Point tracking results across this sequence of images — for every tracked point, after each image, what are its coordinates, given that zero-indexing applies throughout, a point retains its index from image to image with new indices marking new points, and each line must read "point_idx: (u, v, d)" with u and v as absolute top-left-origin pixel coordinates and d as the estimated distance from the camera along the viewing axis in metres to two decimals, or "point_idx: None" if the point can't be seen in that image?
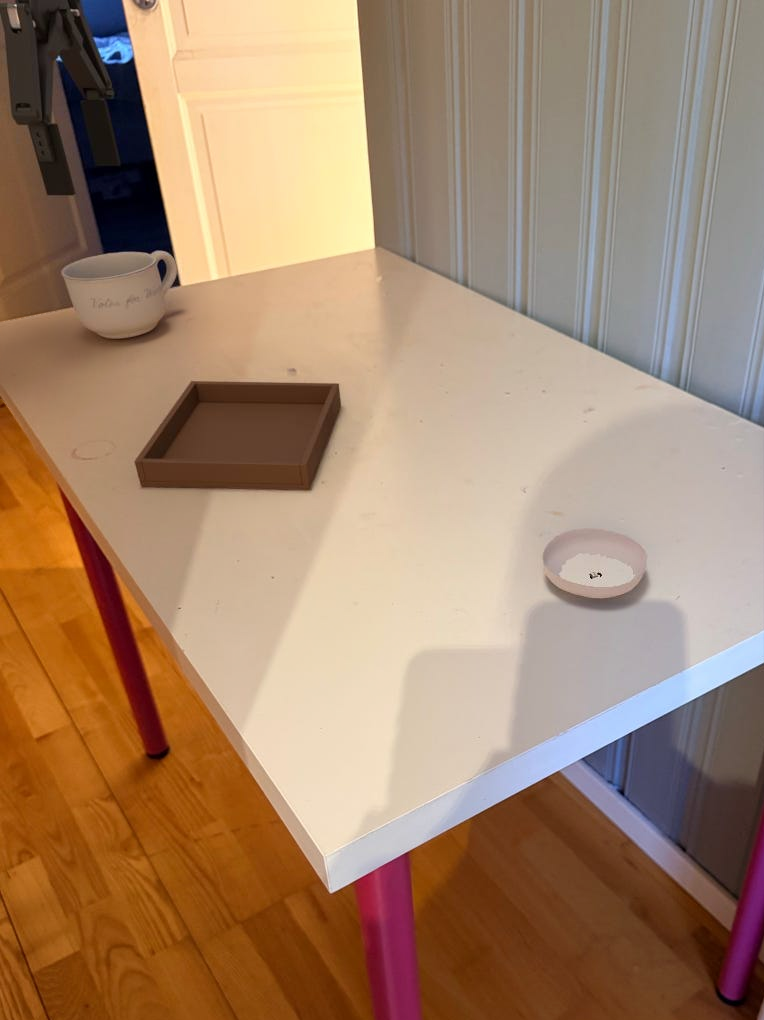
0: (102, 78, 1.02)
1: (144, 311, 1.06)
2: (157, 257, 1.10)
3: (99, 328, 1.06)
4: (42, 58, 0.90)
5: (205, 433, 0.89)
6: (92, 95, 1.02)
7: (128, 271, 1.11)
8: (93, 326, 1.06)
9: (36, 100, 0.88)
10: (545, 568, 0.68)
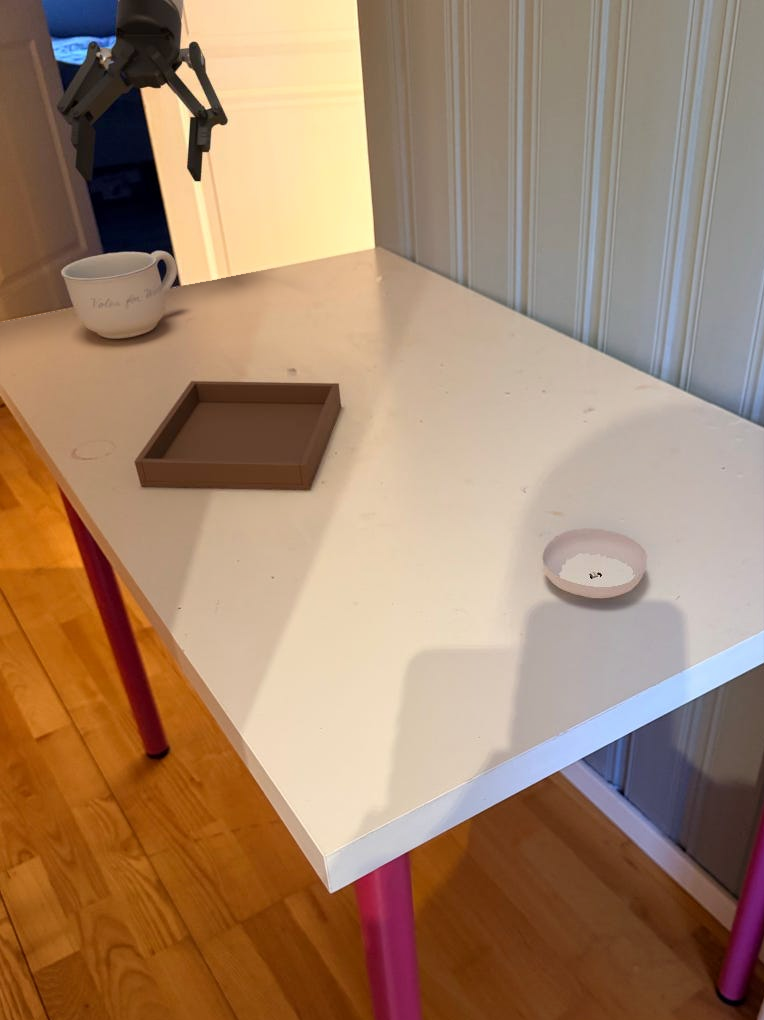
0: None
1: (144, 311, 1.06)
2: (157, 257, 1.10)
3: (99, 328, 1.06)
4: None
5: (205, 433, 0.89)
6: None
7: (128, 271, 1.11)
8: (93, 326, 1.06)
9: None
10: (545, 568, 0.68)
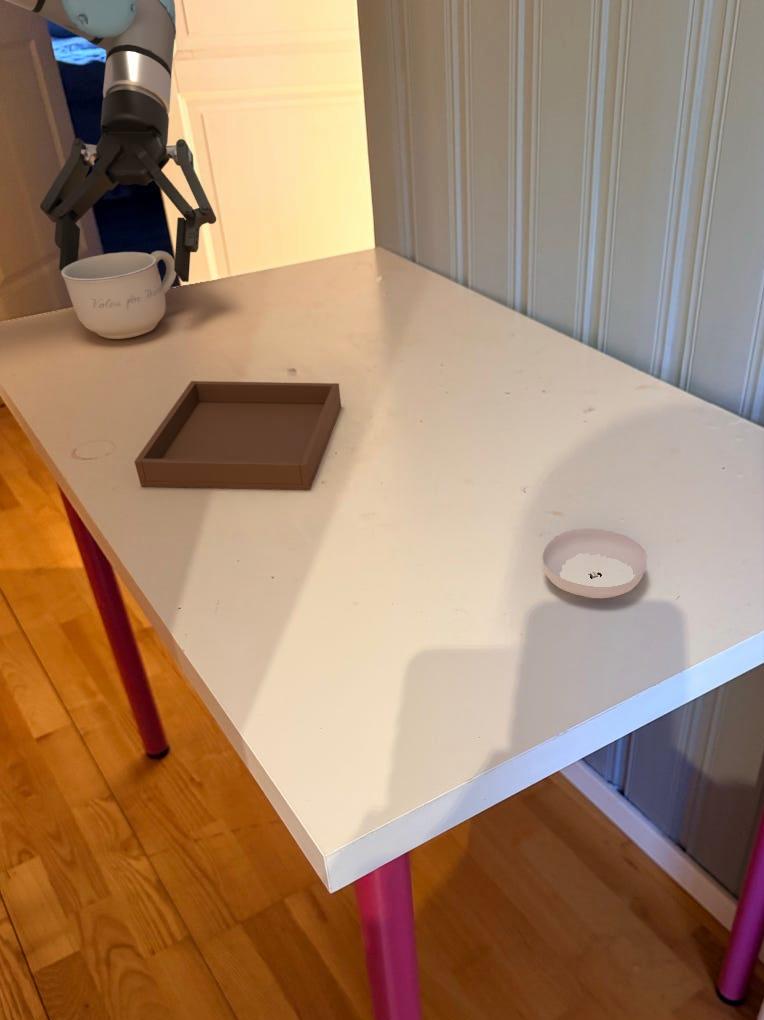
0: None
1: (145, 311, 1.06)
2: (157, 257, 1.10)
3: (99, 328, 1.06)
4: None
5: (205, 433, 0.89)
6: None
7: (128, 271, 1.11)
8: (93, 326, 1.06)
9: None
10: (545, 568, 0.68)
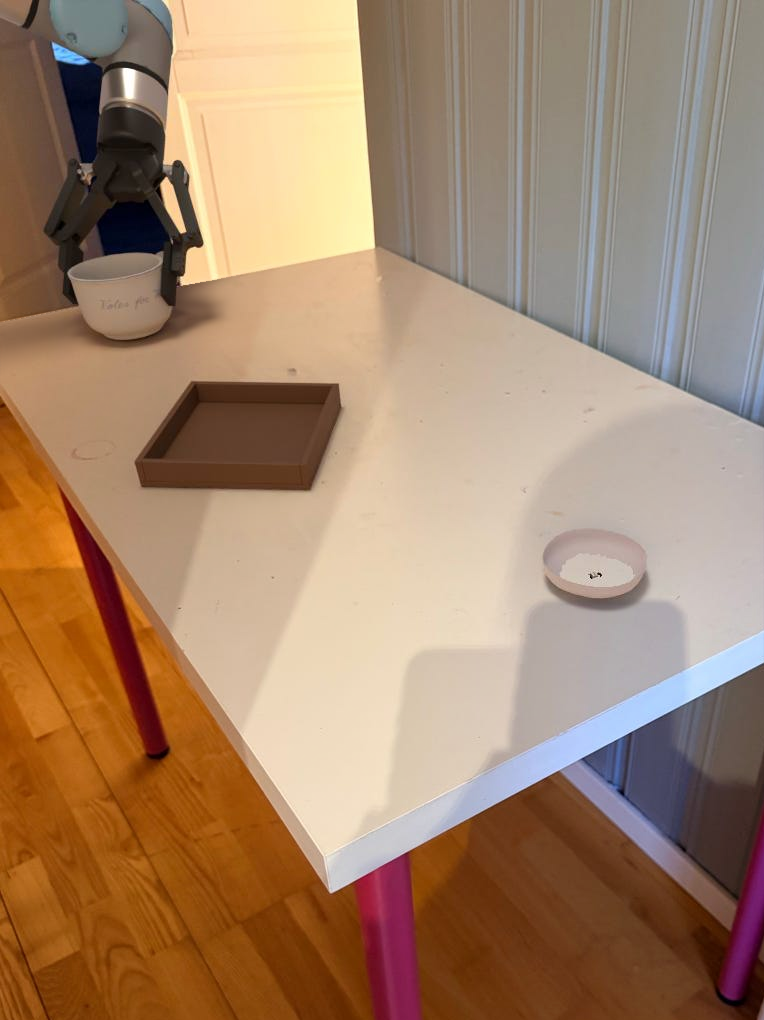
0: None
1: (153, 312, 1.06)
2: (162, 257, 1.10)
3: (108, 330, 1.06)
4: None
5: (205, 433, 0.89)
6: None
7: (132, 272, 1.11)
8: (101, 328, 1.06)
9: None
10: (545, 568, 0.68)
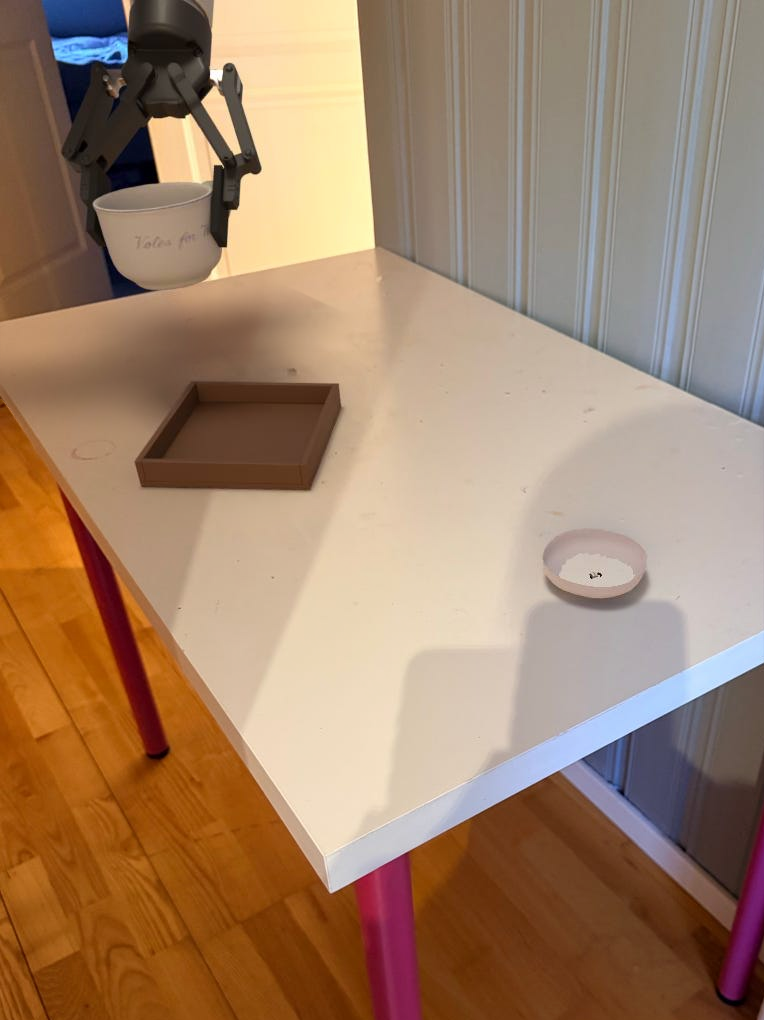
0: None
1: (200, 253, 0.84)
2: None
3: (144, 276, 0.84)
4: None
5: (205, 433, 0.89)
6: None
7: None
8: (136, 274, 0.84)
9: None
10: (545, 568, 0.68)
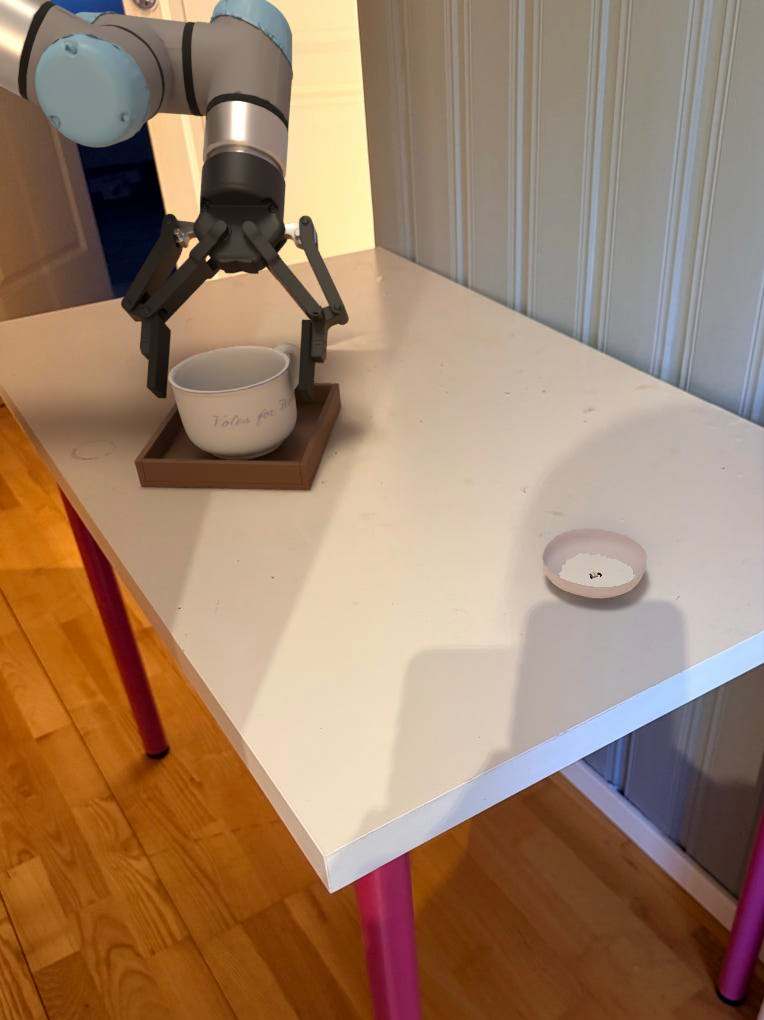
0: None
1: (277, 427, 0.82)
2: (284, 352, 0.85)
3: (219, 450, 0.81)
4: None
5: None
6: None
7: (244, 369, 0.87)
8: (211, 448, 0.81)
9: None
10: (545, 568, 0.68)
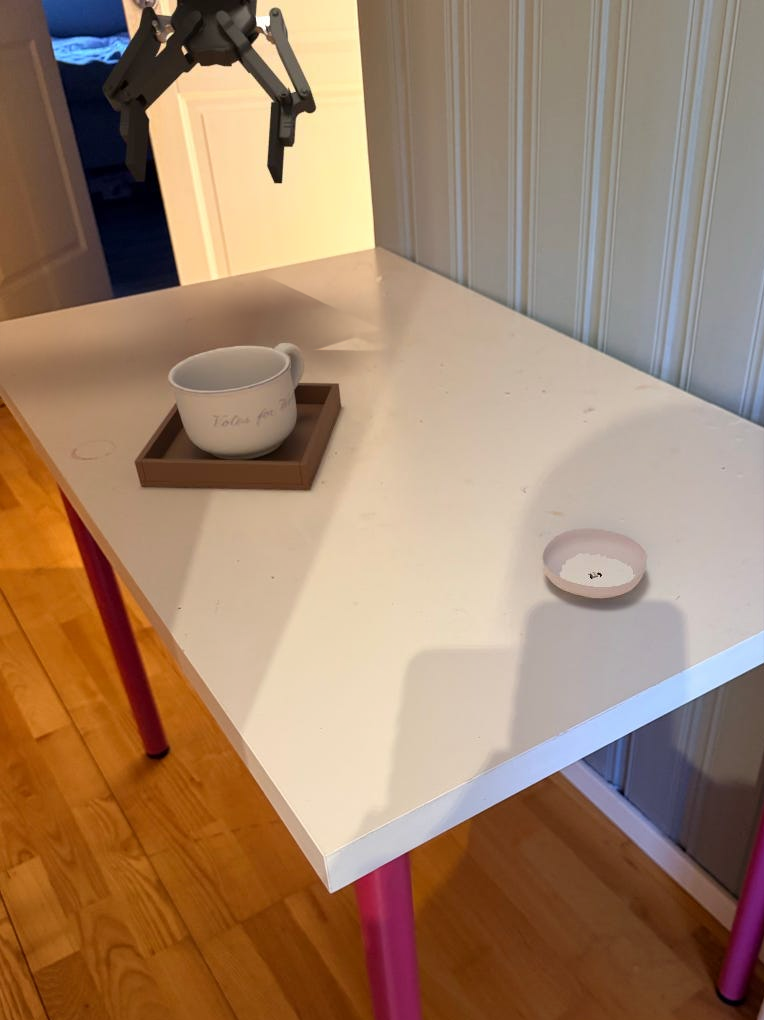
0: None
1: (277, 427, 0.82)
2: (284, 352, 0.85)
3: (219, 450, 0.81)
4: None
5: None
6: None
7: (244, 369, 0.87)
8: (211, 448, 0.81)
9: None
10: (545, 568, 0.68)
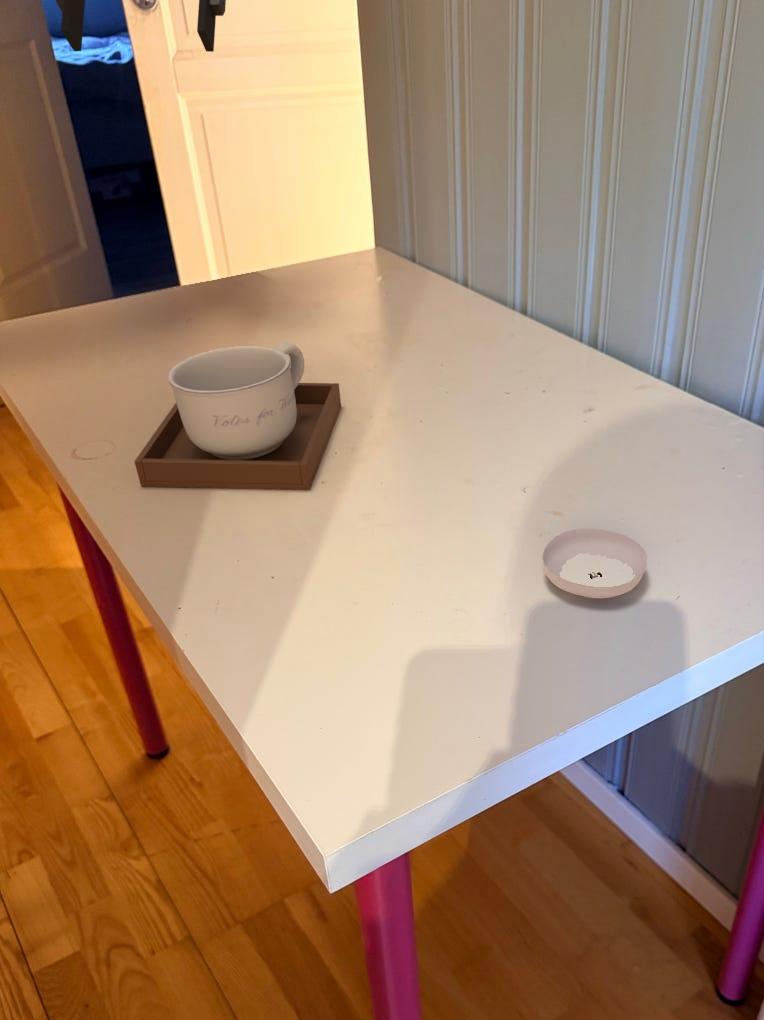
0: None
1: (277, 427, 0.82)
2: (284, 352, 0.85)
3: (219, 450, 0.81)
4: None
5: None
6: None
7: (244, 369, 0.87)
8: (211, 448, 0.81)
9: None
10: (545, 568, 0.68)
